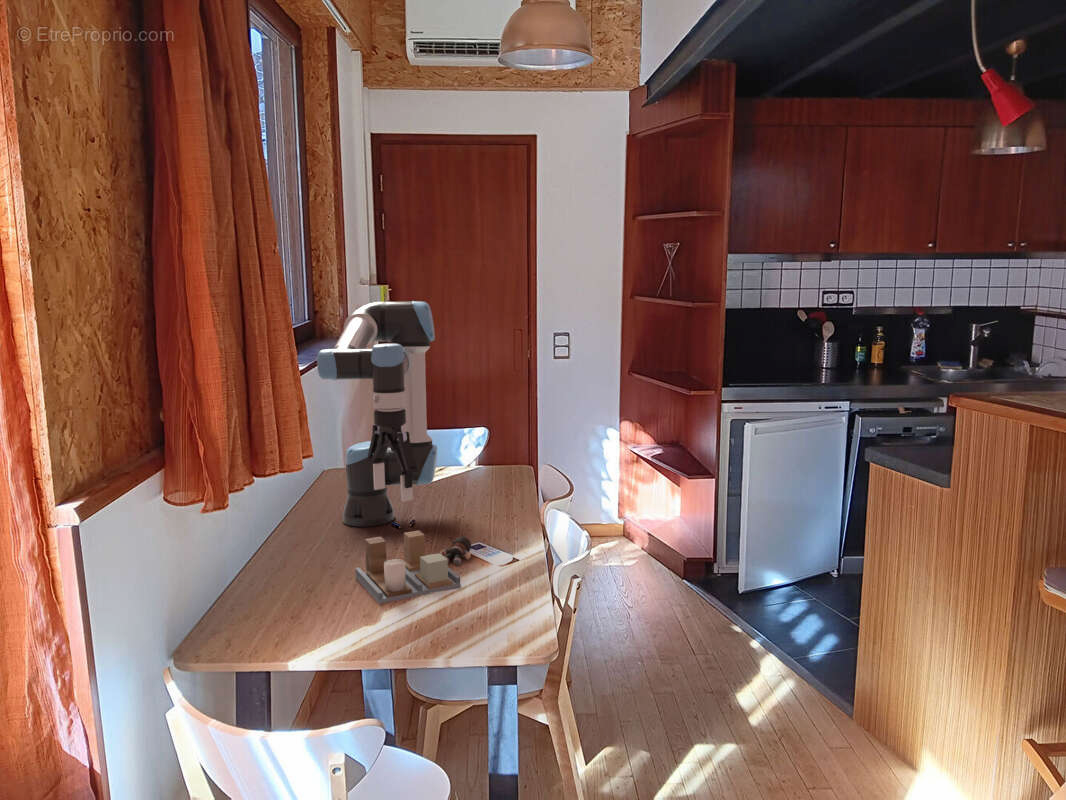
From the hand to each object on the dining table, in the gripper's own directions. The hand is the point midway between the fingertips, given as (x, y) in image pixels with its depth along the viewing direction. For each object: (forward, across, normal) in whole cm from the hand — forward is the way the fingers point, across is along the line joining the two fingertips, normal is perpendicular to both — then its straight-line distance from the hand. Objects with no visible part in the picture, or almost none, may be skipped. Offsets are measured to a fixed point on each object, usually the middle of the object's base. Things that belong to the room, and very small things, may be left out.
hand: (392, 494), depth 204 cm
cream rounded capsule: (+18, +12, -7) cm, 23 cm away
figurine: (+20, +1, +18) cm, 27 cm away
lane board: (+20, +7, -1) cm, 21 cm away
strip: (+19, +6, -6) cm, 21 cm away
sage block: (+18, +13, +3) cm, 23 cm away
